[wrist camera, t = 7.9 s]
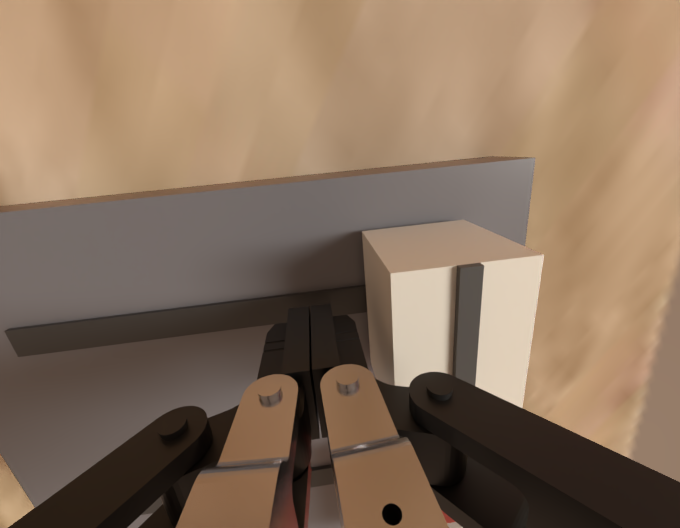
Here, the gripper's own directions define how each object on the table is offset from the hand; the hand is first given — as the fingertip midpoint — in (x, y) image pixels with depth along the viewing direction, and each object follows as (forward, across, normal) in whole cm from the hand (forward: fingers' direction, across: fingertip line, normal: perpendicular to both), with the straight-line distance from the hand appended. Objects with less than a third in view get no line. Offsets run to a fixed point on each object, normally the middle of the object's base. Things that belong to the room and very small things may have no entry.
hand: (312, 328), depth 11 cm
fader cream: (+2, -4, 0) cm, 5 cm away
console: (+5, +3, +5) cm, 8 cm away
